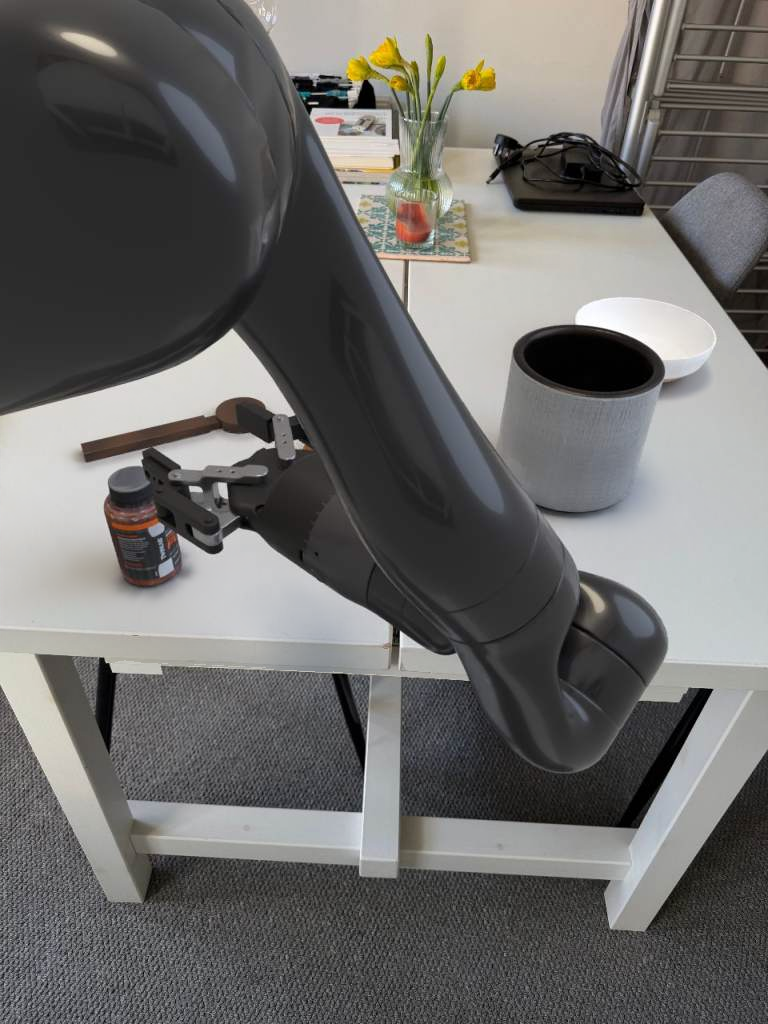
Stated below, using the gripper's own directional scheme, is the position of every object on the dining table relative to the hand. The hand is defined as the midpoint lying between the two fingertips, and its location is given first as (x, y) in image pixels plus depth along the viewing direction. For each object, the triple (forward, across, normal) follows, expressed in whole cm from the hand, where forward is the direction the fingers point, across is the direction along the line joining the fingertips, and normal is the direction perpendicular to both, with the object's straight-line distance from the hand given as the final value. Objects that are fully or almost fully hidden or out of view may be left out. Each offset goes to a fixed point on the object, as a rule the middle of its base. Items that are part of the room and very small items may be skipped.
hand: (195, 434), depth 55 cm
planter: (-12, -41, +21) cm, 47 cm away
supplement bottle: (+11, +1, +21) cm, 23 cm away
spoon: (+28, -15, +20) cm, 38 cm away
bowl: (-6, -71, +21) cm, 74 cm away
